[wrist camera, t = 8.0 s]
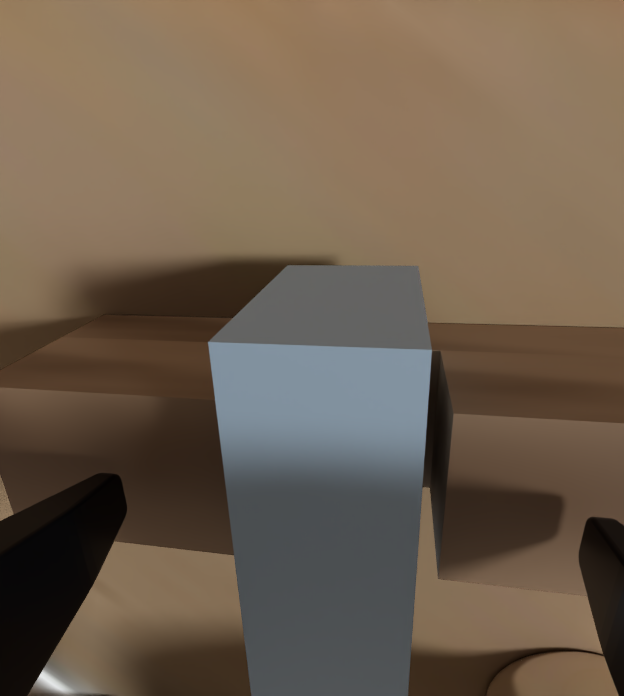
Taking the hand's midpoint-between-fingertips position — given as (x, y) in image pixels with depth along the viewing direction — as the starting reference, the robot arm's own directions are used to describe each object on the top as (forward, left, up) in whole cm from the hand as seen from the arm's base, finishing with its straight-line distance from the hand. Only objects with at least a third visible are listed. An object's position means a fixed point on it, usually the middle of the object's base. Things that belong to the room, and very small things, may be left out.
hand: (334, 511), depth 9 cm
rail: (0, 0, -6) cm, 6 cm away
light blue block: (0, 0, -4) cm, 4 cm away
